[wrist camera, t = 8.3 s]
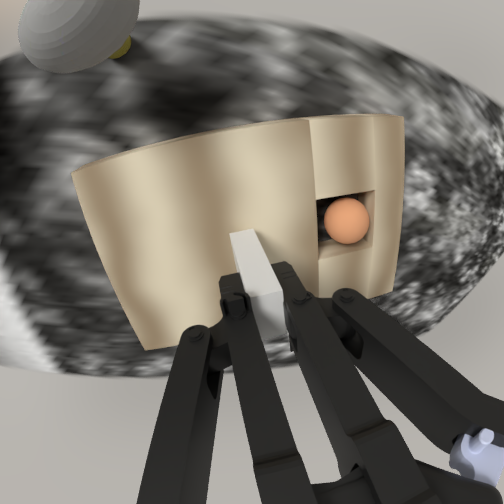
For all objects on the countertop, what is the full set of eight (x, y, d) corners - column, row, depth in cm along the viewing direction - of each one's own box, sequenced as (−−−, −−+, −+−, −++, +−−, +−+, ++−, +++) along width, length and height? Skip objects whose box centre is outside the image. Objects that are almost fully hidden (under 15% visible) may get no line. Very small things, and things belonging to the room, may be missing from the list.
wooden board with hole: (147, 330, 24) (145, 350, 22) (84, 164, 17) (70, 172, 14) (378, 276, 26) (392, 291, 24) (383, 113, 18) (403, 116, 16)
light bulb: (141, -3, 12) (102, -78, 3) (172, 56, 14) (146, 4, 6) (71, 39, 12) (-14, 6, 3) (98, 98, 15) (13, 98, 6)
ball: (364, 255, 19) (371, 233, 22) (366, 210, 17) (372, 193, 20) (319, 249, 21) (331, 228, 23) (317, 205, 19) (329, 189, 22)
